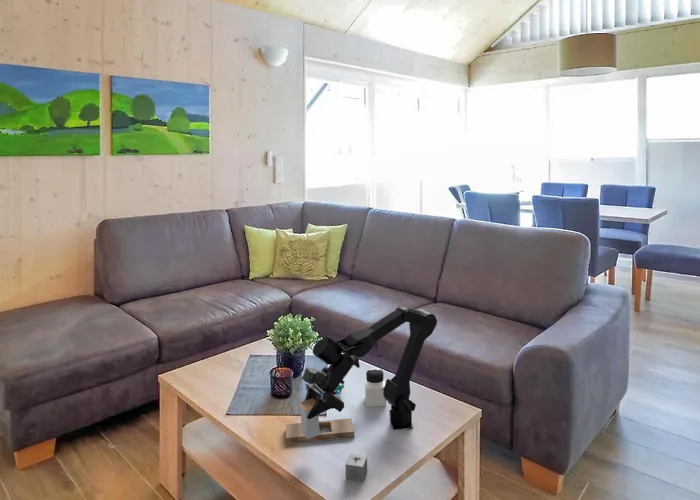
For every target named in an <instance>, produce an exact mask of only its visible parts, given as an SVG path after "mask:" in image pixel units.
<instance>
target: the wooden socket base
mask: <svg viewBox="0 0 700 500" xmlns="http://www.w3.org/2000/svg"><path fill="white" fill-rule="evenodd" d="M324 428H325V429H326V428H327V429H328V428H330V431H328V432H320V435H318V436H315V437H312V438H309V439H307V438H306V437H305V436H304V434H303V433H302V424H301V422H297V423H286V424H285V443H286V444H297V443H298V444H299V443H306V442H308V443H309V442H318V441H329V440H340V439H349V438H350V439H351V438H355V428H354V424H353V421H352V418H351V417H349V418H340V419H330V420H329V419H328V420H319V429H324Z"/></svg>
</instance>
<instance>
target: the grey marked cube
mask: <svg viewBox="0 0 700 500" xmlns="http://www.w3.org/2000/svg"><path fill="white" fill-rule="evenodd" d="M344 465H345V481H348V482H357V483H364V482H365V479H366V477H367V474H368V456H367V455H363V454H355V453H349V455H348V458H347V459H346V462H345V464H344Z"/></svg>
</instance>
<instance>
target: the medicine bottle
mask: <svg viewBox="0 0 700 500" xmlns="http://www.w3.org/2000/svg"><path fill="white" fill-rule="evenodd" d="M365 376H366V377H365V378H366V379H364V391H365V392H364V393H365V394H364V395H365V407H366V408H367V407H373V408H374V407H386V406H387V400H386V399H385V398H384V396H383V392H384V390H383V388H384V387H385V384H386V380H385V378H384V371H383V370H382V369H381V368H370V369H368V370H367V371H366V373H365Z"/></svg>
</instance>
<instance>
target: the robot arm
mask: <svg viewBox="0 0 700 500" xmlns="http://www.w3.org/2000/svg"><path fill="white" fill-rule="evenodd" d="M405 323H409V324H408V326H409V337H408V340H407V342H406V346H405V348H404V351H403V353H402V355H401V356H402V357H401V359H400V362H399V364H398V367H397V370H396V373H395V374H394V376H393V377H392V378H391V379H389V378H387V379H386V380H385V387H384V388H383V390H384V392H383V396H384V398H385V399H386V402H387V403H388V404H390V410H388V411H389V413H388V414H389V423H390V425H391V426H392V428H393V430H394V431H396V430H404V428H407V429H413V428H414V425H413V423H412V421H413V419H412V418H413V417H412V416H413V414H412V412H414V411H415V409H416V406H417V404H416V403H415V402H413V401H412V400H411V399H410V396H411V383H410V382H411V379H412V377H413V376H412V375H413V373H414V370H415V368H416V365H417V362H418V360H419V357H420V355H421V351H422V349H423V346H424V343H425V341H426V340H427V339H428V338H430V336H431V335H432V334H433V332H434V330H435V329H436V327H437V325H438V319H437V317H436V316H435V314H433V313H431V312H429V311H427V310H425V309H422V308H417V309H416V310H415V309H412V308H410V307H409V308H408V307H405V306H397V307H396V308H395V310H394V311H392V312H390V313H389V314H387V315H386V316H384V317H383V318H381V319H380V320H378V321H377V322H375V323H373V324H372V325H370V326H369V327H366V328H365V329H364V328H363V329H359V330H356V331H353V332H351V333H349V334H347V335H346V336H345V337H344V338H341V339H339V340H336V341H335V340H334V339H332V337H330V336H329V335H326V336H325V337H324V338H320V340H318V341H316V343H315V344H314V346H313V348H312V354H313V356H315V357H316V358H318V359H319V360H320V361H322V362H324V363H325V364H326V365H329V366H328V367H326V366H324V367H323V368H322V369H321V370H320V369H316V368H312V367H306V368H305V370H304V373H303V376H302V377H301V379H302V380H303V381H304V382H306V383H305V388H306V395H305V398H304V401H305V400H309V399H312V398H313V399H314V400H315V401H316V403H315V405H314V406H313V408H312V409H311V411H310V413H309V414H308V416H307V418H308V419H312V418H313V417H315V416H317V415H321V414H322V413H324V412H326V411H329V410H331V409H332V410H334V409H335V410H336V411H338V412H339V413H342V411H343V410H344V408H345V402H344V401H343V400H342V399H341V398H340V397H339V396H337V395H338V394H337V393H336V392H335V390H336V389H337V387H338V386H339V385H345V383H346V382H345V380H344V379H345V377H346V376H347V375H348V374H349V372H350V370H351V369H352V368H353V366H354V367H356V368H358V369H359V368H360V367H361V366H360V359H361V358H363V357H365V356H366V355H368V353H369V352H371V350H373V347H375V344H376V343H377V342H378V341H380V340H381V339H383V338H385V336H387V335H388V334H390V333H392V332H393V331H394V330H397V329H398V328H399V327H401V326H402V325H404V324H405ZM319 392H320V393H321V394H322V395H321V394H320V393H319ZM336 394H337V395H336Z"/></svg>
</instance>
